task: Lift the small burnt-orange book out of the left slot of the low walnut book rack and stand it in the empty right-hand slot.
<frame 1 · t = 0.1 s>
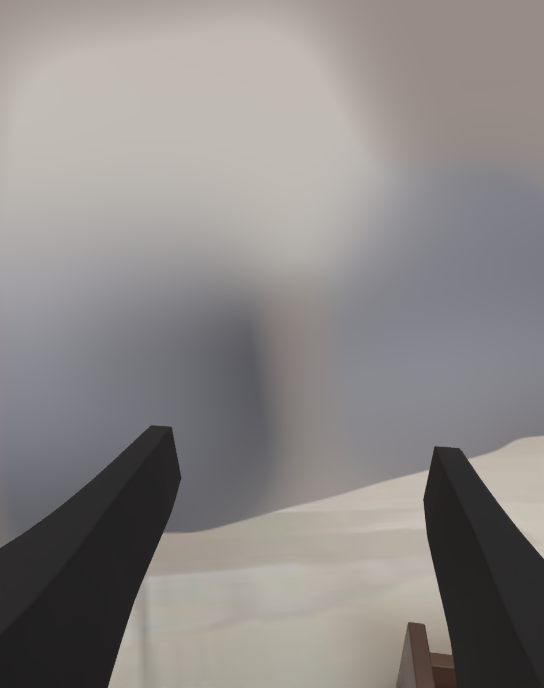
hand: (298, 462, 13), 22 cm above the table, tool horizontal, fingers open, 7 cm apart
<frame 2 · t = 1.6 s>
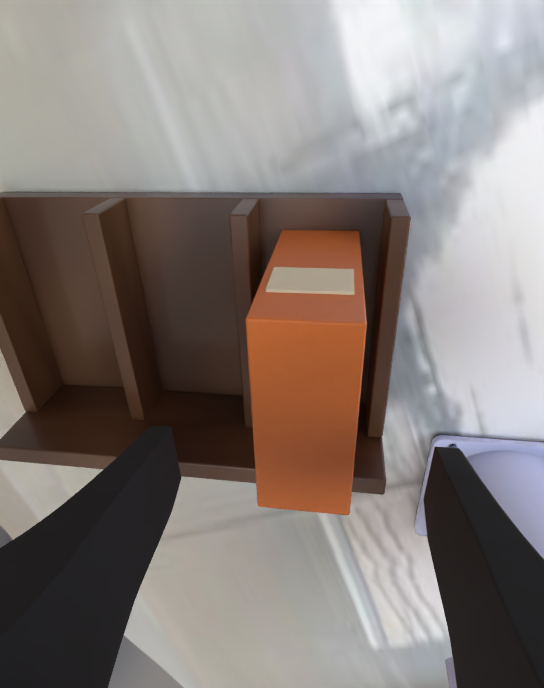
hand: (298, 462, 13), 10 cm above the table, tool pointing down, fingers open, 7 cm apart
book: (317, 311, 20), point 1 cm above the table, touching book rack
book rack: (203, 306, 22), on the table
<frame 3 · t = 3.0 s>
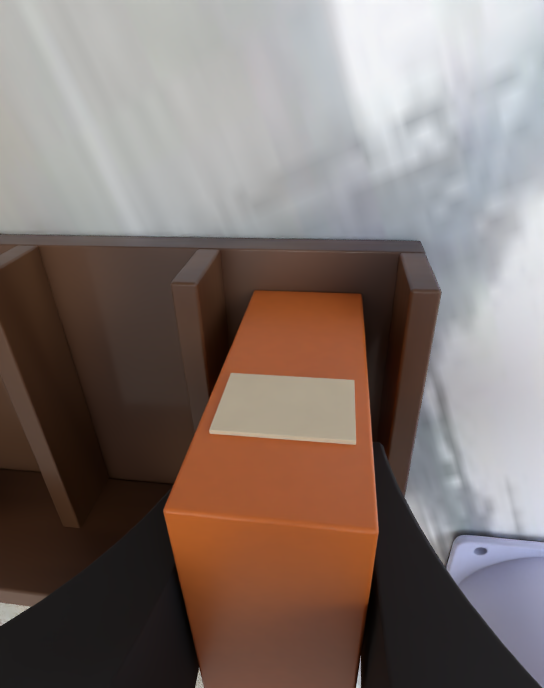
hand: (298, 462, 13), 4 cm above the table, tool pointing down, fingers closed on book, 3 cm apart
book: (305, 392, 15), point 1 cm above the table, touching book rack, gripper
book rack: (157, 378, 17), on the table
when the fingers open (4 cm above the table, at t = 7.3 s): book stays where it is, resting on book rack.
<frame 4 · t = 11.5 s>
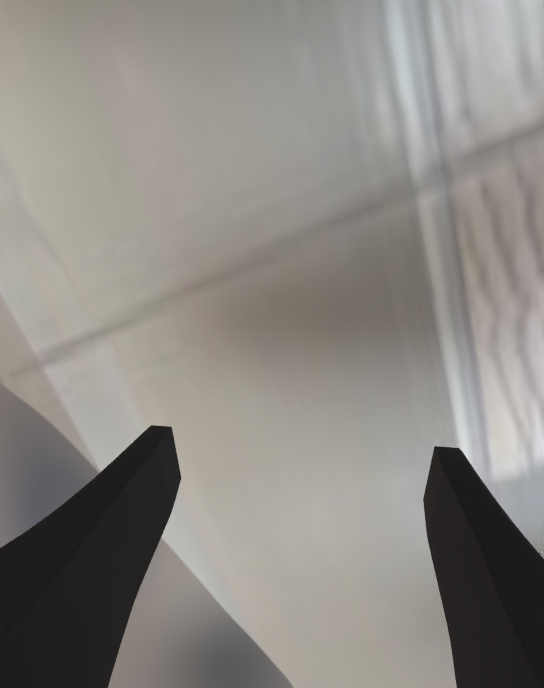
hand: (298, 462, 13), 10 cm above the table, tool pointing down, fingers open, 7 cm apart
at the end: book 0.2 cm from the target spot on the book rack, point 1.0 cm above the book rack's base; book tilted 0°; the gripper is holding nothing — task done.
